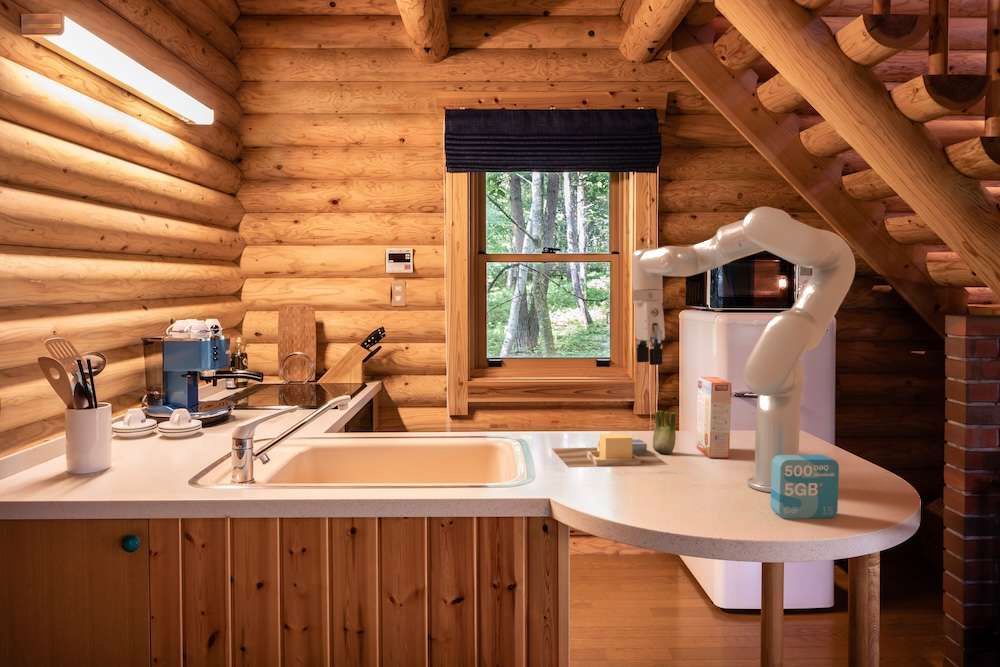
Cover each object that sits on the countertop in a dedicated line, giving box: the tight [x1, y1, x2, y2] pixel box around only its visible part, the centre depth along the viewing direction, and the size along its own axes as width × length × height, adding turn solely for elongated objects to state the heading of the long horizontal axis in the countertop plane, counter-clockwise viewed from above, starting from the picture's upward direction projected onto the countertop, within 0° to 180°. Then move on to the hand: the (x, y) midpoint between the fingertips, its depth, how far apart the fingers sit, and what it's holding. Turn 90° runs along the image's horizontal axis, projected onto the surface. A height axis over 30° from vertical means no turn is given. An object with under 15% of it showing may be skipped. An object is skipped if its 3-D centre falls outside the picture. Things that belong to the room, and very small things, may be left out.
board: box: [551, 438, 669, 468], centre depth 197 cm, size 22×26×4 cm
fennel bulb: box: [652, 410, 677, 455], centre depth 206 cm, size 6×5×12 cm
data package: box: [770, 454, 840, 520], centre depth 149 cm, size 12×4×12 cm, turn 93°
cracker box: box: [696, 376, 733, 459], centre depth 206 cm, size 14×6×21 cm, turn 179°
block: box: [599, 432, 633, 459], centre depth 191 cm, size 6×7×6 cm
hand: (649, 363), depth 191 cm, fingers open, 9 cm apart
